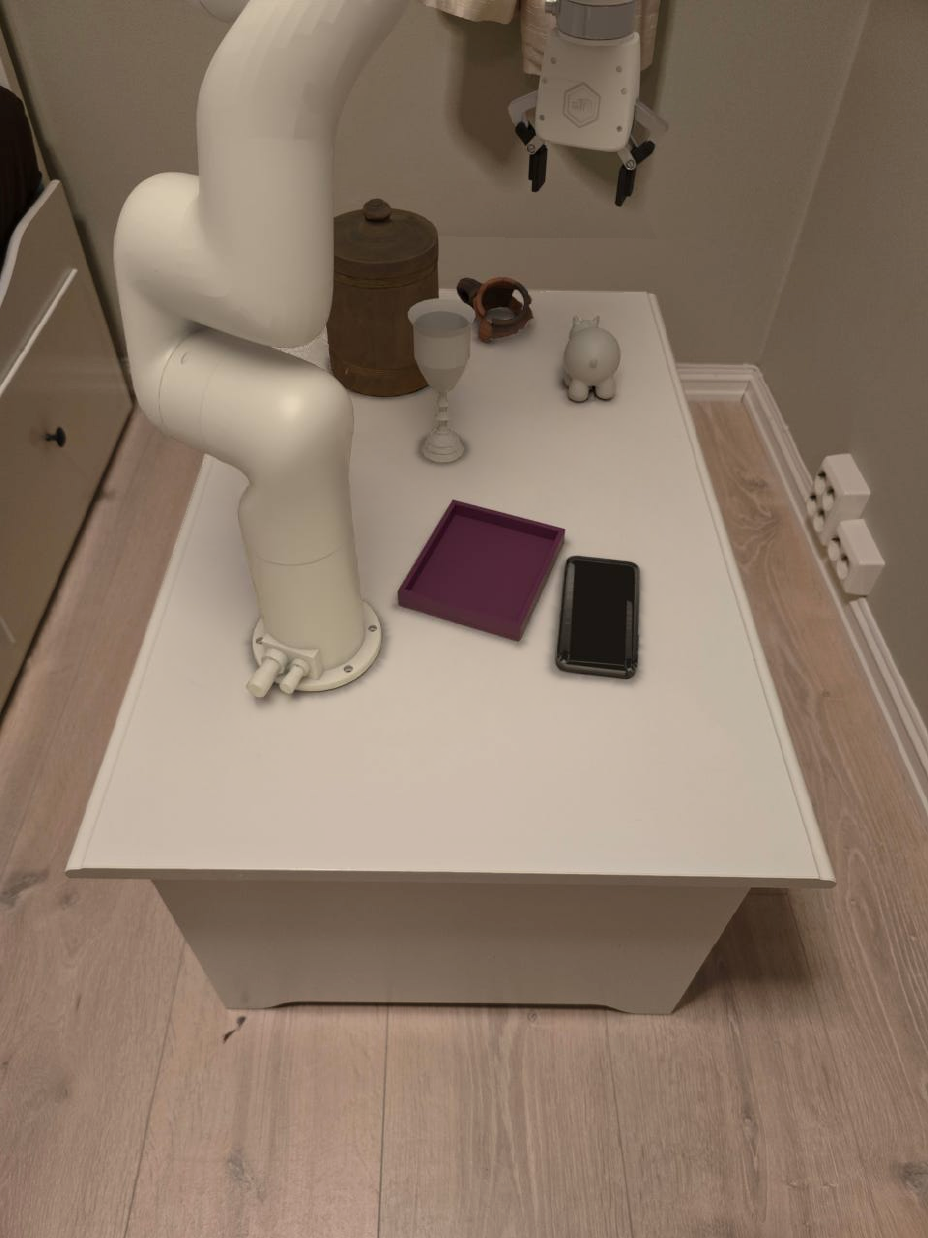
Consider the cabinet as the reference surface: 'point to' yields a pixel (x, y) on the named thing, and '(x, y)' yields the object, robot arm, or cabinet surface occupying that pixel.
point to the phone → (599, 617)
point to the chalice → (442, 363)
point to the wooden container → (379, 296)
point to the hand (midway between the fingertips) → (579, 194)
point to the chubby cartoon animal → (590, 360)
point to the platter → (483, 569)
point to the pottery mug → (496, 305)
